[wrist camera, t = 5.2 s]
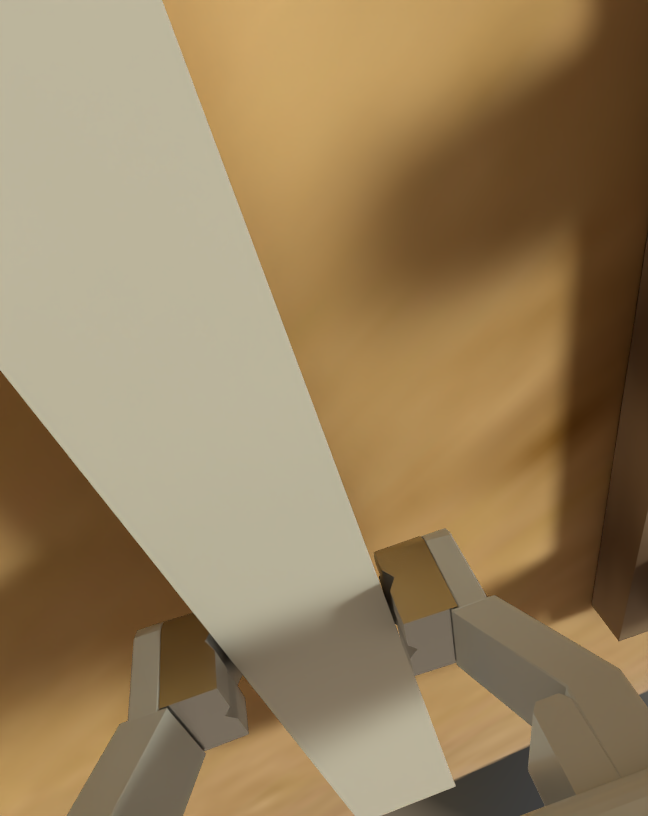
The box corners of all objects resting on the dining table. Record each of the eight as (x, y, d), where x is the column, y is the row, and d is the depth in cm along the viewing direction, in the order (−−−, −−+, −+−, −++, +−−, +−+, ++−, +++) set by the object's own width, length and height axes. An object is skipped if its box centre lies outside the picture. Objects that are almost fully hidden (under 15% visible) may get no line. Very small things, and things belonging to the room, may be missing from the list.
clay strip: (-109, 17, 6) (-297, -4, 4) (135, -69, 6) (107, -146, 4) (336, 719, 18) (361, 823, 16) (418, 687, 18) (455, 786, 16)
